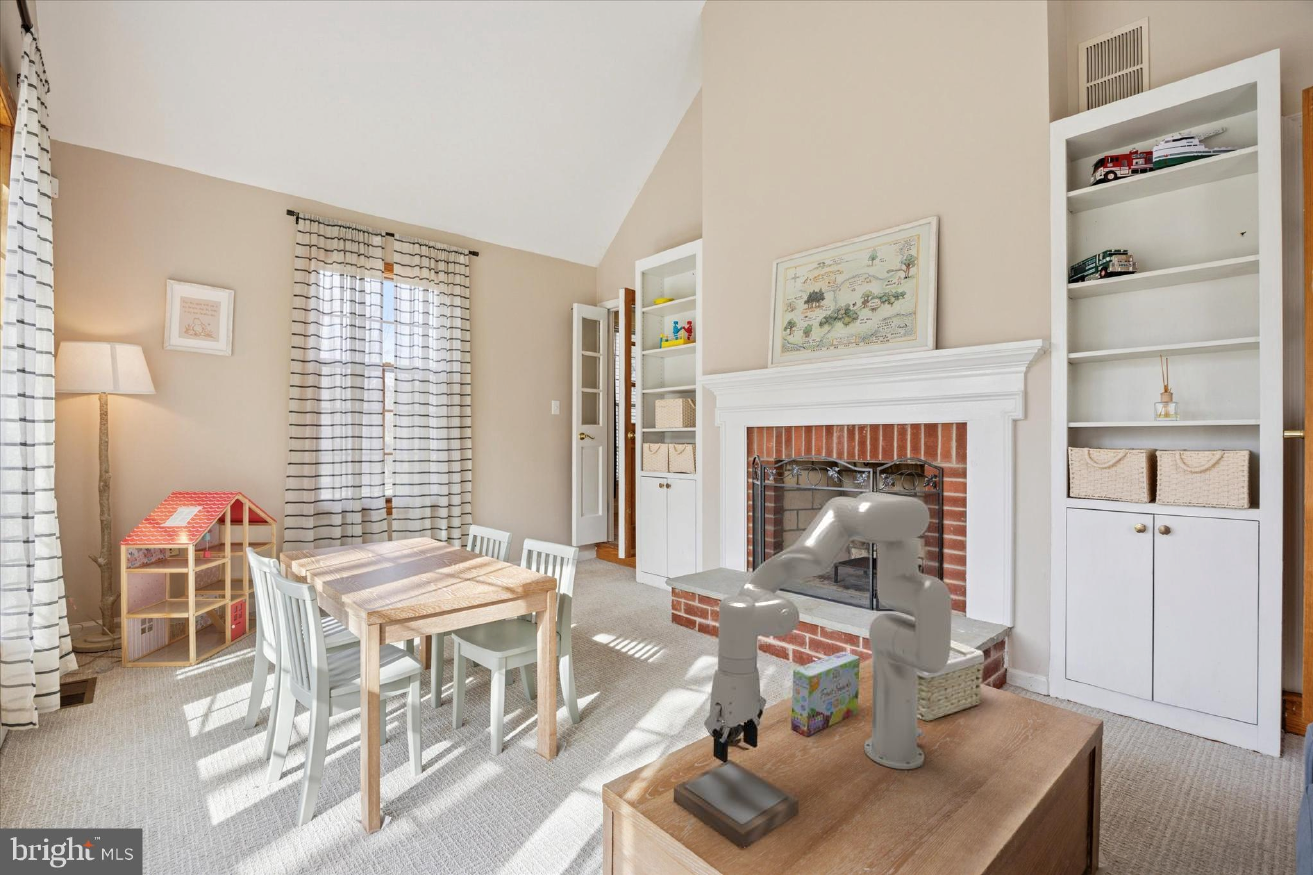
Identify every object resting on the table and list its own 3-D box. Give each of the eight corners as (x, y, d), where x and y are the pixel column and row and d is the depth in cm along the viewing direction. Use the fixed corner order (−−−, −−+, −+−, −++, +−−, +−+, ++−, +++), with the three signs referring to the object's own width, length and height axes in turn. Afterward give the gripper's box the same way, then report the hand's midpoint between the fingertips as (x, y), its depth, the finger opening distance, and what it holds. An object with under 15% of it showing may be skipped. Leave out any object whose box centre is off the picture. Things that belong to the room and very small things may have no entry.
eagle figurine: (741, 769, 117) (737, 747, 126) (755, 734, 117) (750, 715, 126) (704, 753, 118) (702, 732, 127) (717, 718, 118) (715, 700, 127)
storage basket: (925, 725, 153) (926, 667, 153) (874, 699, 168) (875, 645, 167) (986, 706, 164) (987, 651, 164) (934, 683, 179) (935, 633, 178)
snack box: (809, 738, 146) (810, 675, 146) (790, 729, 150) (791, 668, 150) (859, 713, 159) (860, 655, 159) (840, 705, 164) (842, 649, 164)
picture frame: (729, 771, 132) (729, 757, 132) (798, 812, 118) (798, 797, 118) (673, 800, 121) (673, 785, 121) (742, 849, 108) (742, 832, 108)
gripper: (752, 646, 128) (750, 730, 128) (691, 666, 116) (689, 758, 117) (781, 657, 122) (779, 745, 122) (720, 679, 111) (718, 776, 111)
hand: (735, 751), depth 119 cm, fingers closed on eagle figurine, 7 cm apart
